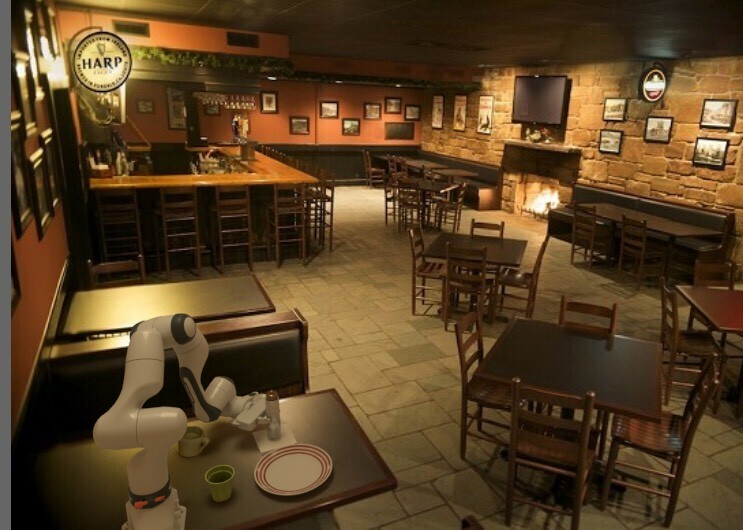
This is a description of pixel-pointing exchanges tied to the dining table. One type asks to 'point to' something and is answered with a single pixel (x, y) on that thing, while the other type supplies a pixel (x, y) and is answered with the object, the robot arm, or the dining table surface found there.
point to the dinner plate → (293, 469)
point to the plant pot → (220, 482)
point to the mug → (192, 442)
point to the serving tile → (273, 440)
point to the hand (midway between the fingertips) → (275, 415)
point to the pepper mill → (273, 414)
